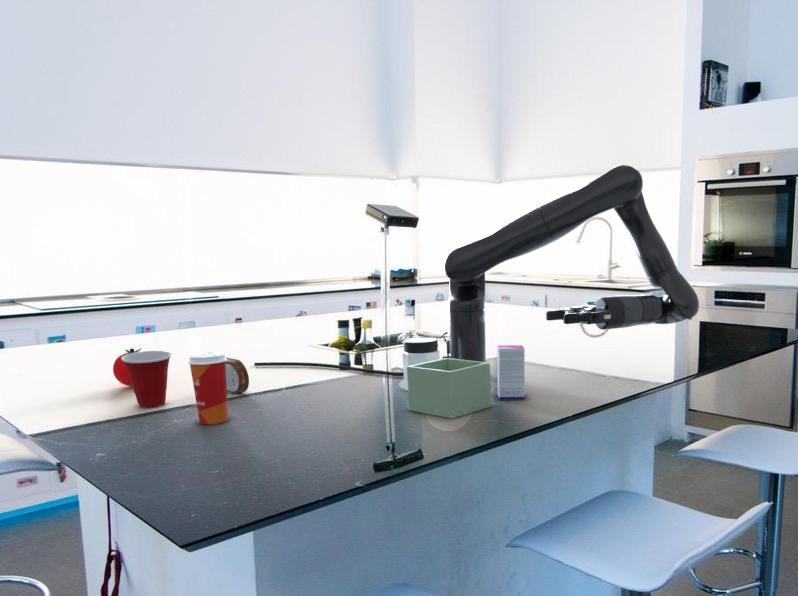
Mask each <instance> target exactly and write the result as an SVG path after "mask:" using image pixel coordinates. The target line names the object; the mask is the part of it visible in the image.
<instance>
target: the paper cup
mask: <svg viewBox="0 0 798 596" xmlns="http://www.w3.org/2000/svg"><path fill="white" fill-rule="evenodd" d="M225 357H226V355H225V353H224V352H218V351H216V352H200V353H195V354H191V355H190V356H189V360H188V362H187V364H189V368H190V374H191V379H192V385H193V392H194V397H195V398H194V399H195V402H196V409H197V415H198V420H199V424H202V425H217V424H218V425H219V424H222V423H225V422H227V421H228V417H229V416H228V415H229V414H228V413H229V411H228V392H227V383H226V361H227V358H228V357H227V358H225Z"/></svg>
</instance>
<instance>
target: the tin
mask: <svg viewBox="0 0 798 596" xmlns="http://www.w3.org/2000/svg"><path fill="white" fill-rule="evenodd" d="M225 358H227V361H226V383H227V393H229V394H232V395H233V394H234V395H236V394H240V393H245V392H246V391H247V390H248V389H249V385H250V377H249V372H248V369H247V368H246V366H245V364H244V363H243V361H241V360H240V359H237V358H231V357H226V356H225Z"/></svg>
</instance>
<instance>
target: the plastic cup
mask: <svg viewBox="0 0 798 596" xmlns="http://www.w3.org/2000/svg"><path fill="white" fill-rule="evenodd" d="M171 357H172V353H171V352H170V351H164V350H142V351H139V352H136V353H131V354H127V355H125V356H122V358H121V360H122V361H123V362H124V364H125V366H126V369H127V371H128V374H129V377H130V380H131V384H132V386H131V387H132V390H133V394H134V395H135V398H136V402H137V404H138V406H139V408H155V407H161V406H164V405H166V401H167V400H166V399H167V389H168V374H169V373H168V372H169V363H170V358H171Z"/></svg>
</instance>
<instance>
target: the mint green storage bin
mask: <svg viewBox="0 0 798 596" xmlns="http://www.w3.org/2000/svg"><path fill="white" fill-rule="evenodd" d="M407 379H408V391H407V395H408V399H407V400H408V411H410V412H415V413H419V414H420V413H421V414H427V415H433V416H437V417H444V418H447V419H448V418H449V419H454V418H458V417H461V416H465V415H467V414H470V413H475V412H478V411H481V410H485V409H488V408H491V407H492V397H491V396H492V395H491V394H492V393H491V391H492V390H491V363H490V362H487V361H486V362H478V361H469V360H460V359H451V358H444V359H443V358H440V360H435V361H430V362H426V363H421V364H416V365H412V366H407Z"/></svg>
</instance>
